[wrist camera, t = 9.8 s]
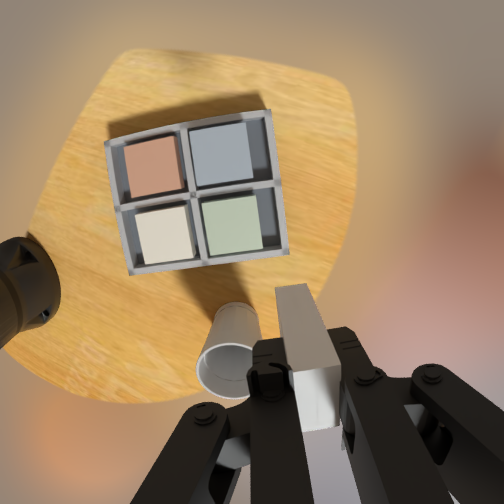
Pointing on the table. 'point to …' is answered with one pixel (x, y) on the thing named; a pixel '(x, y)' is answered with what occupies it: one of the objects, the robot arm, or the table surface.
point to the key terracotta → (154, 166)
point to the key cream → (166, 234)
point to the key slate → (221, 154)
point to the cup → (229, 351)
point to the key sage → (232, 224)
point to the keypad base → (202, 192)
